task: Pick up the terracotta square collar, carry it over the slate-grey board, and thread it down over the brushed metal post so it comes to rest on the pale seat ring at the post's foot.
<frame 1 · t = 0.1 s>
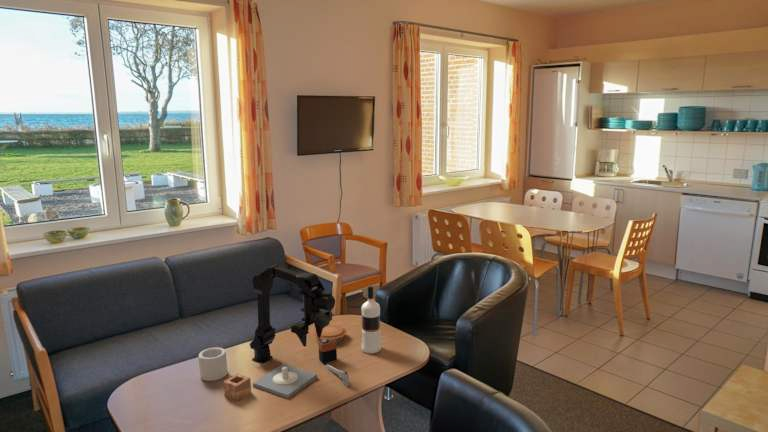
hand: (312, 341, 211), 15 cm above the table, fingers open, 9 cm apart
vodka: (371, 350, 236), on the table
collar: (238, 394, 201), on the table
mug: (212, 374, 216), on the table
pie: (330, 339, 248), on the table
post board: (285, 381, 209), on the table
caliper: (336, 377, 213), on the table
battery: (328, 361, 226), on the table
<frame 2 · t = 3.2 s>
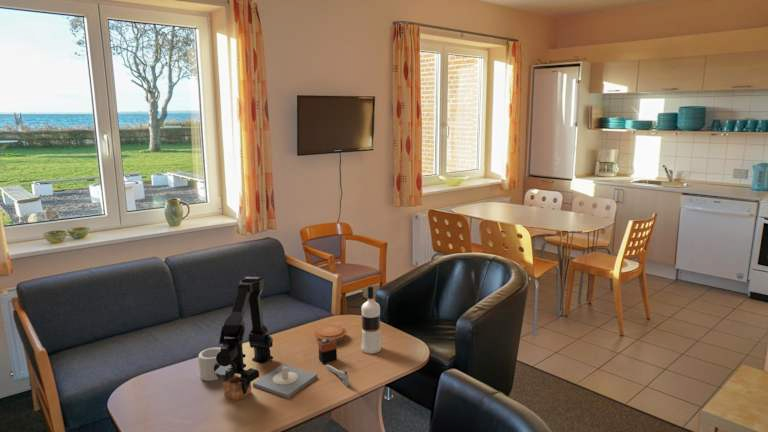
hand: (237, 391, 200), 1 cm above the table, fingers closed on collar, 7 cm apart
collar: (238, 394, 201), on the table, touching gripper
everything else where it was.
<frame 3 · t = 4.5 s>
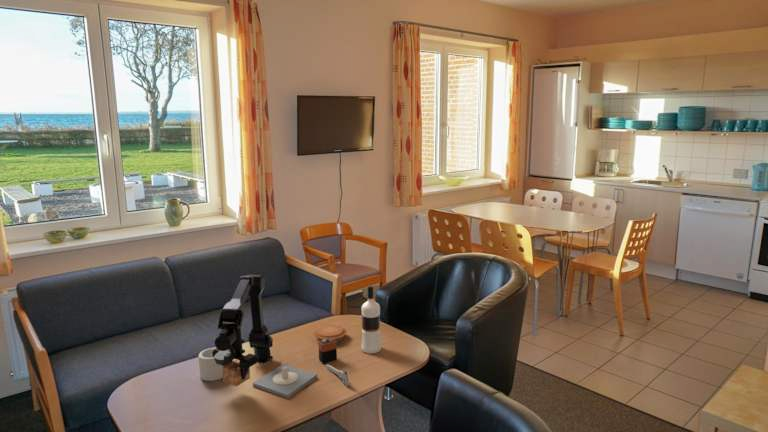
hand: (236, 376, 199), 7 cm above the table, fingers closed on collar, 7 cm apart
collar: (236, 380, 199), point 6 cm above the table, touching gripper
everything else where it was.
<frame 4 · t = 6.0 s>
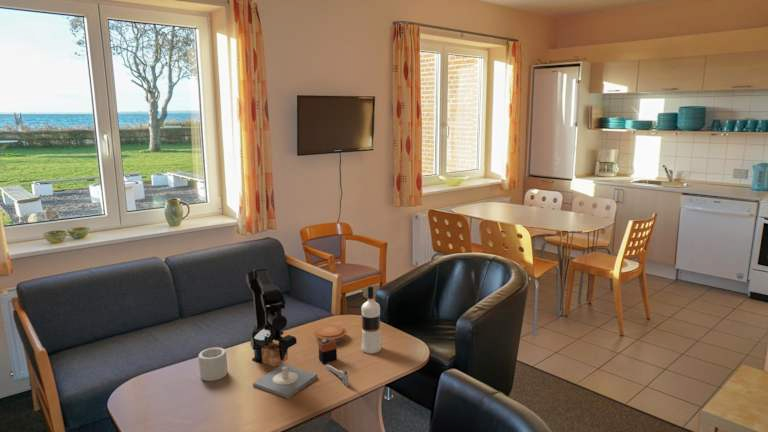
hand: (275, 357, 205), 11 cm above the table, fingers closed on collar, 7 cm apart
collar: (275, 360, 205), point 10 cm above the table, touching gripper
everything else where it was.
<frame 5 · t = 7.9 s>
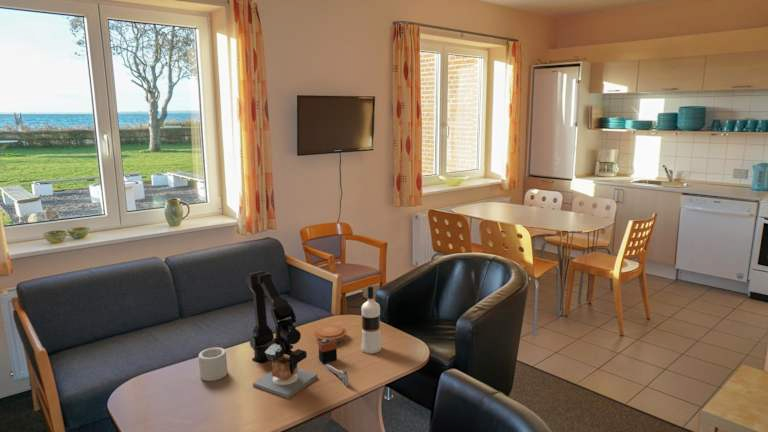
hand: (285, 371, 208), 5 cm above the table, fingers closed on collar, 7 cm apart
collar: (285, 374, 208), point 3 cm above the table, touching gripper
everything else where it was.
when the fingers open (4 cm above the table, at t = 9.3 s): collar drops 1 cm, resting on post board.
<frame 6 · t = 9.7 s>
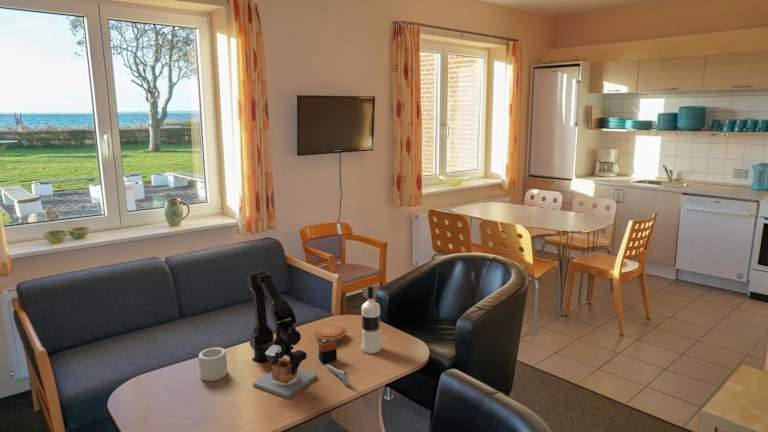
hand: (285, 372, 208), 4 cm above the table, fingers open, 9 cm apart
collar: (285, 377, 209), point 2 cm above the table, touching post board
everything else where it was.
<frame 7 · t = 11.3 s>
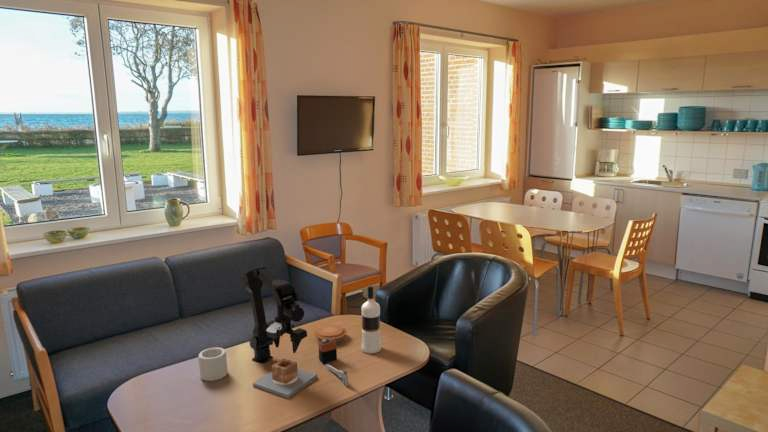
hand: (285, 350, 211), 12 cm above the table, fingers open, 9 cm apart
nothing on the table moved.
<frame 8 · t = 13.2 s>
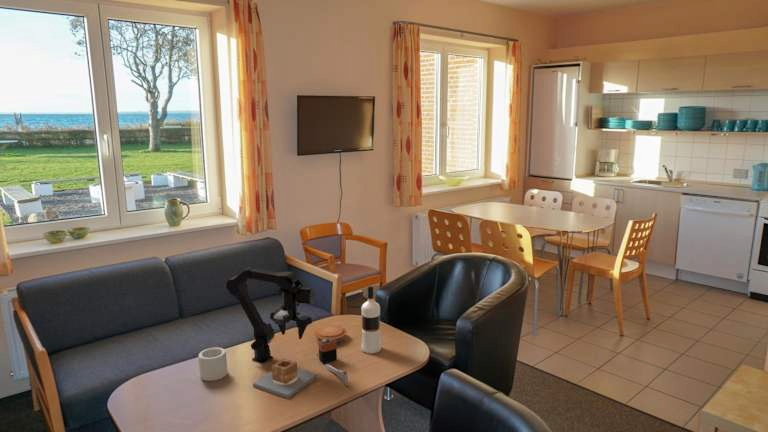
hand: (291, 336, 222), 12 cm above the table, fingers open, 9 cm apart
nothing on the table moved.
at the end: collar 0.1 cm off-centre on the post board, point 1.8 cm above the post board's base; collar tilted 0°; the gripper is holding nothing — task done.
